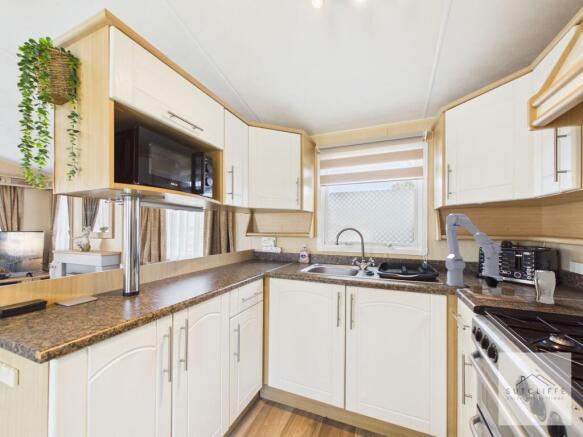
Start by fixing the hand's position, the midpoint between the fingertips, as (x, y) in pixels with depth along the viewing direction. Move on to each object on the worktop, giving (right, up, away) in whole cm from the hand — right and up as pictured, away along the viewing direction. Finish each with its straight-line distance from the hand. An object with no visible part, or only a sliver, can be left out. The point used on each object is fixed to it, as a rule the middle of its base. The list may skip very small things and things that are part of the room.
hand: (492, 291), depth 128 cm
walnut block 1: (-7, -1, +2) cm, 7 cm away
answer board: (0, -2, -1) cm, 2 cm away
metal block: (-1, -1, -3) cm, 4 cm away
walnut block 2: (+7, -1, -2) cm, 7 cm away
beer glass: (+15, -2, -13) cm, 20 cm away
